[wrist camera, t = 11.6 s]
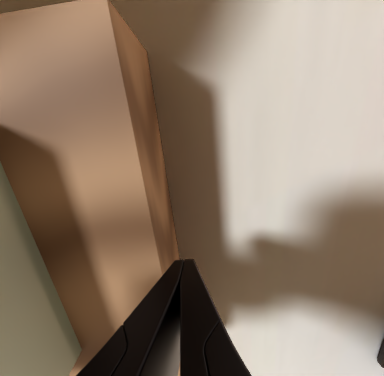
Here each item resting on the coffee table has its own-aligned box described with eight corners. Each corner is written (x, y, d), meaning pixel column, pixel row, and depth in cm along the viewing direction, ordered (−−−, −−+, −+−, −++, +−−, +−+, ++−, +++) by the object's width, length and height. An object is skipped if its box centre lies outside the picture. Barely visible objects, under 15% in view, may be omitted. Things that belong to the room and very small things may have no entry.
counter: (187, 307, 17) (178, 437, 10) (44, 314, 18) (-56, 436, 11) (146, 51, 11) (45, -88, 4) (-71, 83, 12) (-481, 21, 5)
